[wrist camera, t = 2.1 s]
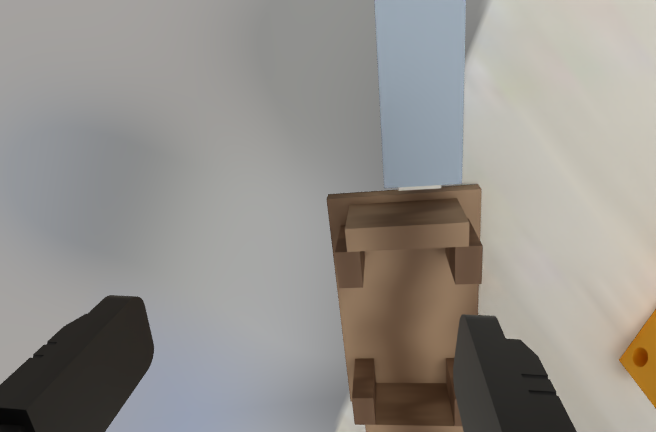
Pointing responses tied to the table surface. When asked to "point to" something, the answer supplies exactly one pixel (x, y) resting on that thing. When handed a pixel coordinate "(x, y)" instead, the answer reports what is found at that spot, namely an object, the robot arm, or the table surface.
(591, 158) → the table surface
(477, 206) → the cradle
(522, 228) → the table surface
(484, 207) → the table surface
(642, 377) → the pipe clamp
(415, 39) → the tall pale blue pillar
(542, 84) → the table surface
